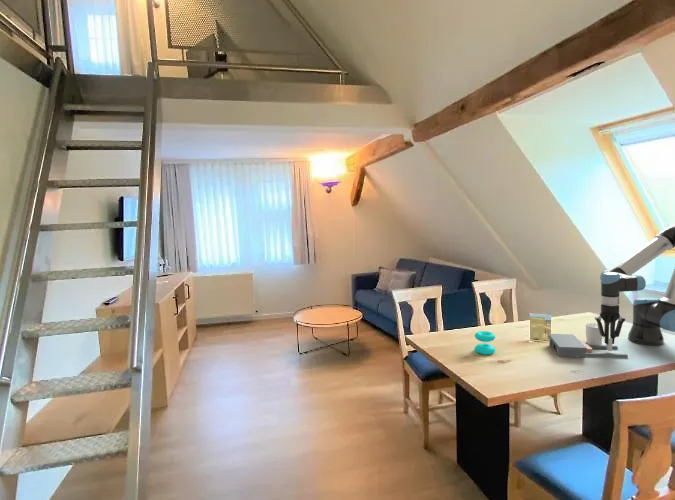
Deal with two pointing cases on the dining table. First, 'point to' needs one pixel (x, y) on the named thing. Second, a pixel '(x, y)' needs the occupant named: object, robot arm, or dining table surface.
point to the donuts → (483, 347)
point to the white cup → (593, 334)
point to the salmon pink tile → (588, 348)
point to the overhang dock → (577, 347)
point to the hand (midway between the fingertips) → (609, 350)
